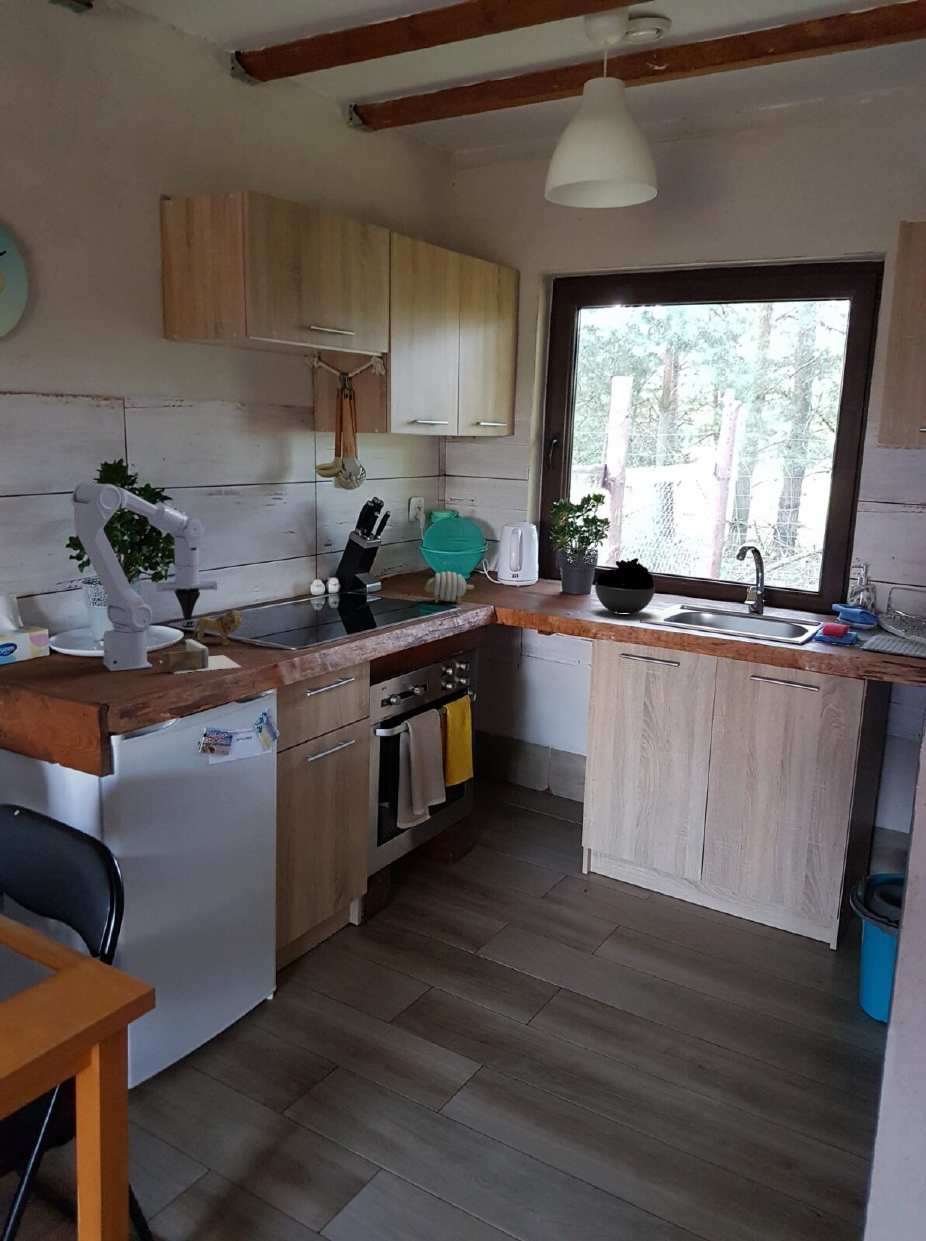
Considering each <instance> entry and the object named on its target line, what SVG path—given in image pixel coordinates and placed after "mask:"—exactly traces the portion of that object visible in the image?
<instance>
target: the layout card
mask: <svg viewBox="0 0 926 1241" xmlns="http://www.w3.org/2000/svg"><path fill="white" fill-rule="evenodd" d="M159 663H160V664H161V665H162V660H159ZM208 665H209V666H207V667H203V666H202V667H196V668H198V670H196V671H202V672H211V671H210V670H212V671H219V670H218V669H223V670H231V669H232V668H233V669H241V668H242V667H243V666H241V665H239V664H238V663H237V662H235V661H233V659H230V658H229V657H228V656H226V655H224V654H222V655H211V656H209V655H208ZM233 669H232V670H233ZM188 672H192V673H195V672H194V671H192V670H191V669H190V668H186V669H176V673H173V675H178V674H181V673H182V674H189V673H188Z"/></svg>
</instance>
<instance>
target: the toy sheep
mask: <svg viewBox="0 0 926 1241" xmlns="http://www.w3.org/2000/svg"><path fill="white" fill-rule="evenodd" d="M474 588H475V586H474V584H467V581H466V580H465V578H464V577H463V575H462V574H460V573H458V574H457V573H456V572H455V571H453V572H451V571H449V570H447V571H446V572H445V571H442V572H441V573H439V572H436V573H435V575H434V577H432V578H429V579H428V580H427V582H426V583H425V585H424V590H425V591H426V592H427V593H433V600H434V599H435V601H434V603H435V602H438V601H439V602H440V601H445V602H446V601H449V602H454V601H455V602H456V599H457V602H460V603H461V597H462V596H464V594H465V593H466V591H467V590H474ZM457 602H456V603H457Z"/></svg>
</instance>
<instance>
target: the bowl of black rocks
mask: <svg viewBox="0 0 926 1241" xmlns="http://www.w3.org/2000/svg"><path fill="white" fill-rule="evenodd" d="M615 565H616V566H617V568H616V569H613V568H611V569H607V570H605V572H603V573H602V572H600V573H599V576H598V577H597V582H595V583H594V590H595V594H596V596H597V599H598V600H599V602H600V604H601V605H602V606H603V607H604V608H605V609H607V610H608V611H609V612H612V613H613V612H617V613H634V614H636V613H639V612H641V611H642V610H644V609H645V608H646V607H647V606H648V605H649V604H650V602H651V601H652V599H653V597H654V594H655V591H656V587H655V586H654V585H655V584H654V579H653V575H652V574H651V573H650V572H649V568H647V567H646V566H644V565H642V564H641V563H639V558H638V557H636V558H633V559H631V560H627V561H625V560H623V559H621V560H620V561H619V560H615Z"/></svg>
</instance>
